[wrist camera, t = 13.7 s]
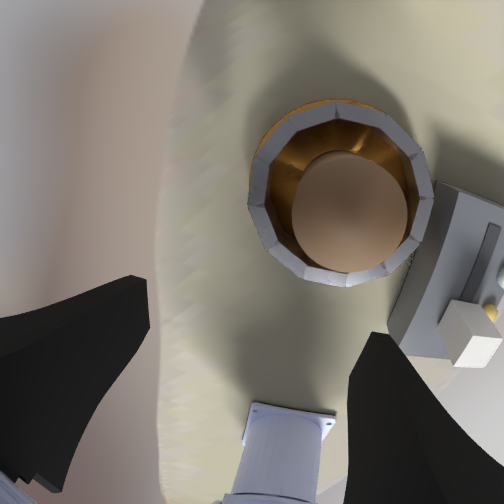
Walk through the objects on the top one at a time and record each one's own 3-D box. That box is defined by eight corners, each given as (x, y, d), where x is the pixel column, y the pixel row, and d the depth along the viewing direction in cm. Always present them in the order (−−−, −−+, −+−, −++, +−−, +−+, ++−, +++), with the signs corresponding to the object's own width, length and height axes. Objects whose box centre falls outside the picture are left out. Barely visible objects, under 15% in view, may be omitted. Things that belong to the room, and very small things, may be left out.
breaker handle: (465, 332, 13) (483, 367, 10) (436, 328, 13) (453, 366, 11) (480, 304, 12) (503, 338, 9) (451, 299, 13) (472, 335, 10)
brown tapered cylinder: (369, 238, 15) (387, 281, 11) (292, 221, 16) (282, 260, 11) (388, 161, 13) (420, 175, 9) (306, 142, 14) (302, 146, 10)
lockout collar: (395, 285, 16) (404, 306, 14) (241, 254, 18) (231, 271, 16) (438, 127, 12) (456, 128, 10) (262, 86, 13) (253, 79, 11)
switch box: (453, 333, 17) (468, 366, 14) (386, 324, 18) (396, 360, 14) (505, 207, 13) (536, 225, 9) (436, 180, 13) (464, 194, 10)
